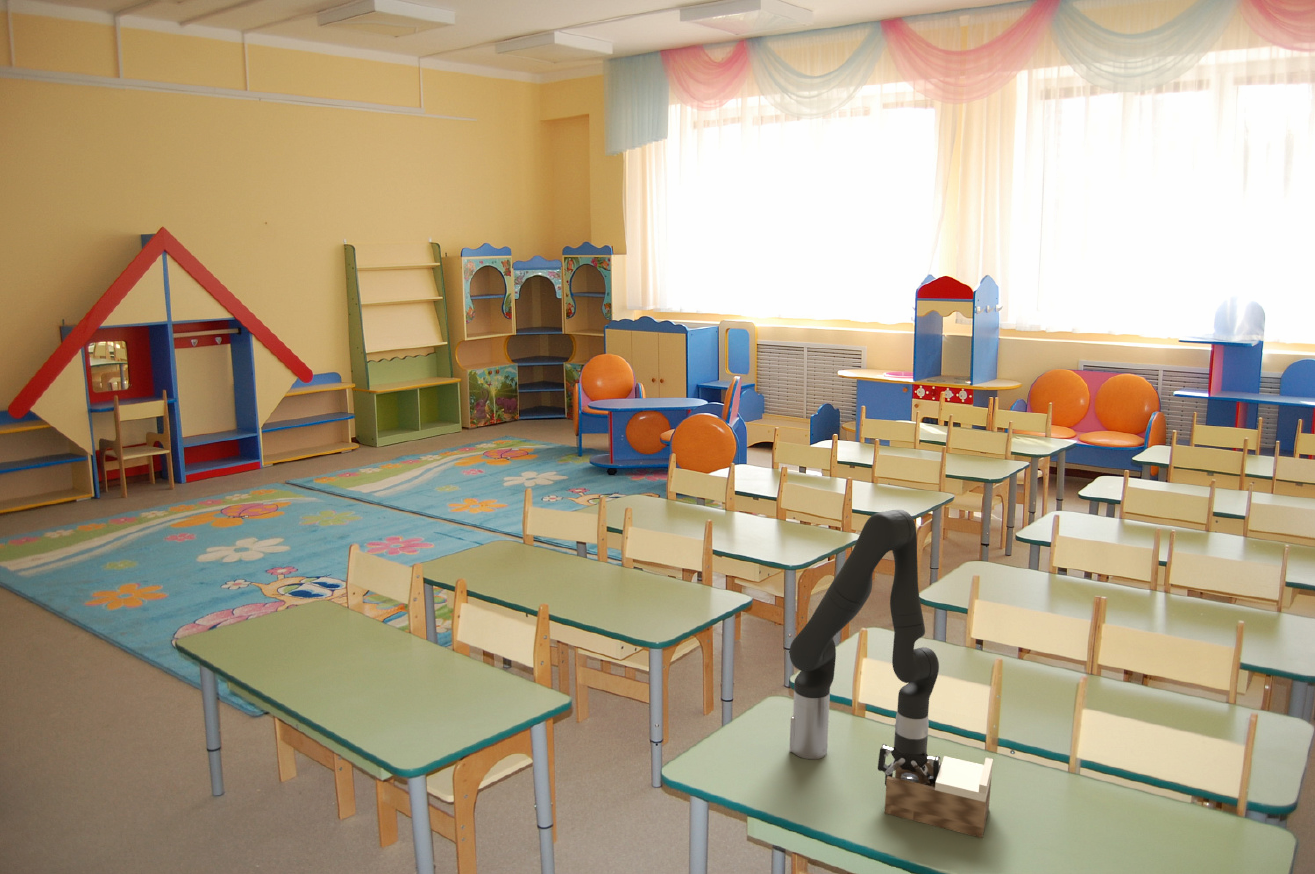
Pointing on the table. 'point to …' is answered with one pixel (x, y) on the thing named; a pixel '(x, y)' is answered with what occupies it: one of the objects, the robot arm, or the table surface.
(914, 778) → the silver metal cylinder
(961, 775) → the lid
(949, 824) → the box
